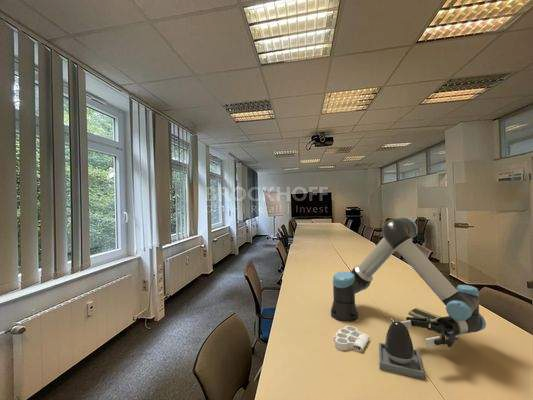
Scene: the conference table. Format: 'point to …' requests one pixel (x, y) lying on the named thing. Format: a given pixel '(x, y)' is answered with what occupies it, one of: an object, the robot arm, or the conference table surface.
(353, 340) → the knuckle duster
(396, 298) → the conference table surface
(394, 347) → the pump dispenser
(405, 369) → the holder tray
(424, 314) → the computer
